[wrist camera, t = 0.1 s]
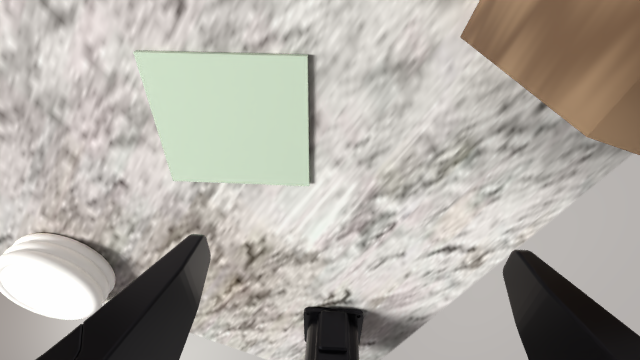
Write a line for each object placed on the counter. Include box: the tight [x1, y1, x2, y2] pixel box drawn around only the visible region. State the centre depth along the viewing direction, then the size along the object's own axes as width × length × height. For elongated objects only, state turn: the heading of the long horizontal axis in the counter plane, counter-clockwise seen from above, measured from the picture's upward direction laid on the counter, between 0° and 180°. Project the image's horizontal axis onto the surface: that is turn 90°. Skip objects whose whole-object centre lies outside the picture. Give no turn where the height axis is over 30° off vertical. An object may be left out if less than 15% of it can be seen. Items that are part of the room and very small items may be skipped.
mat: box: [133, 50, 309, 186], centre depth 24 cm, size 10×11×1 cm
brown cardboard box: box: [461, 0, 640, 155], centre depth 14 cm, size 4×6×12 cm, turn 73°
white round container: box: [0, 233, 116, 320], centre depth 33 cm, size 10×10×4 cm
